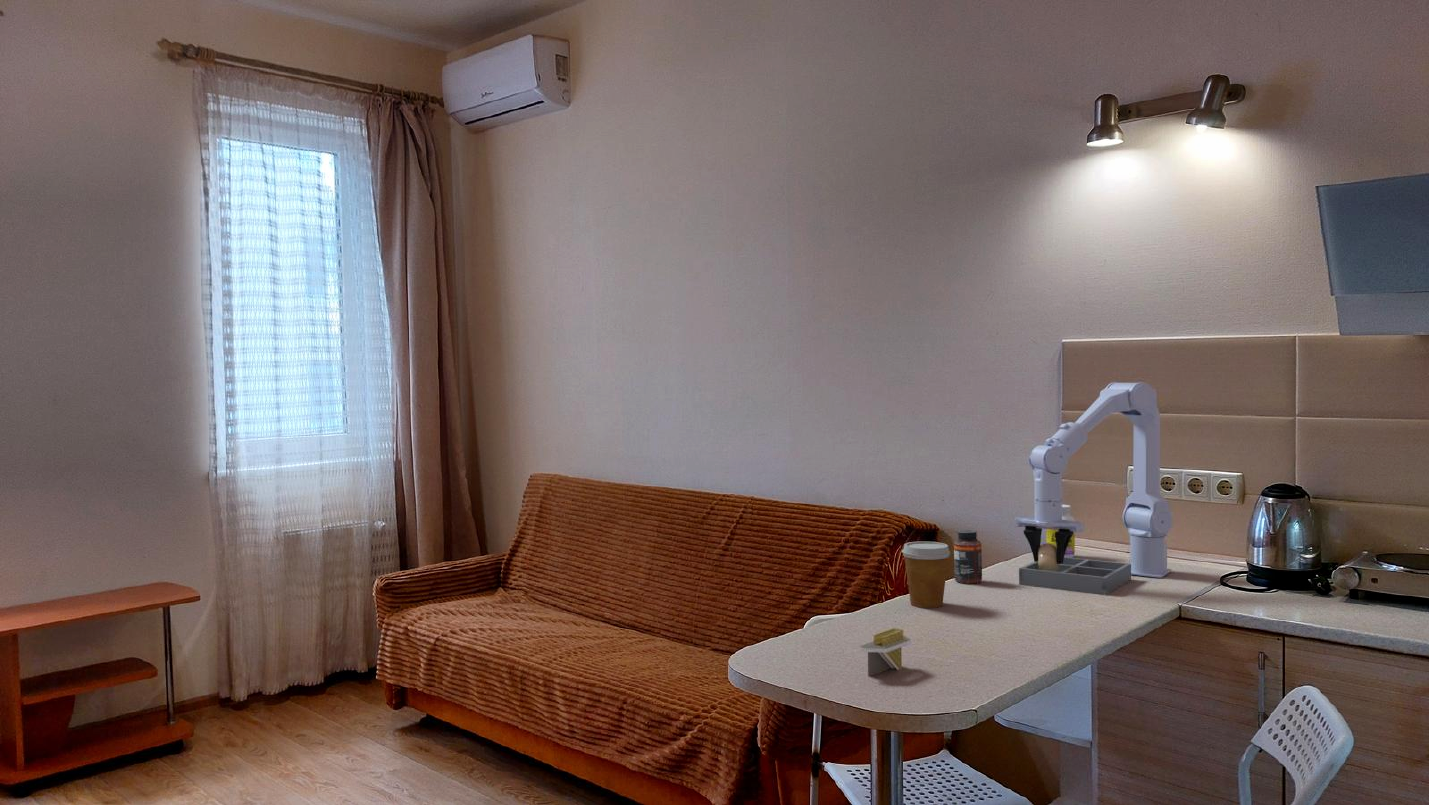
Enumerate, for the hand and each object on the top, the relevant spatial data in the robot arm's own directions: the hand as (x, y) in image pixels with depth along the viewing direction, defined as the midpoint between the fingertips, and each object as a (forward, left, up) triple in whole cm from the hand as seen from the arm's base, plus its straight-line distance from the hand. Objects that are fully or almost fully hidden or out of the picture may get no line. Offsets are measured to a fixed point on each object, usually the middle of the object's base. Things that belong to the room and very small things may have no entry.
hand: (1048, 562), depth 216 cm
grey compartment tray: (-4, +4, -5) cm, 8 cm away
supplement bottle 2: (-32, -8, -5) cm, 33 cm away
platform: (+77, +2, -5) cm, 78 cm away
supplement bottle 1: (+8, -15, -5) cm, 18 cm away
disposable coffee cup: (+33, -13, -5) cm, 36 cm away
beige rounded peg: (0, 0, -2) cm, 2 cm away
